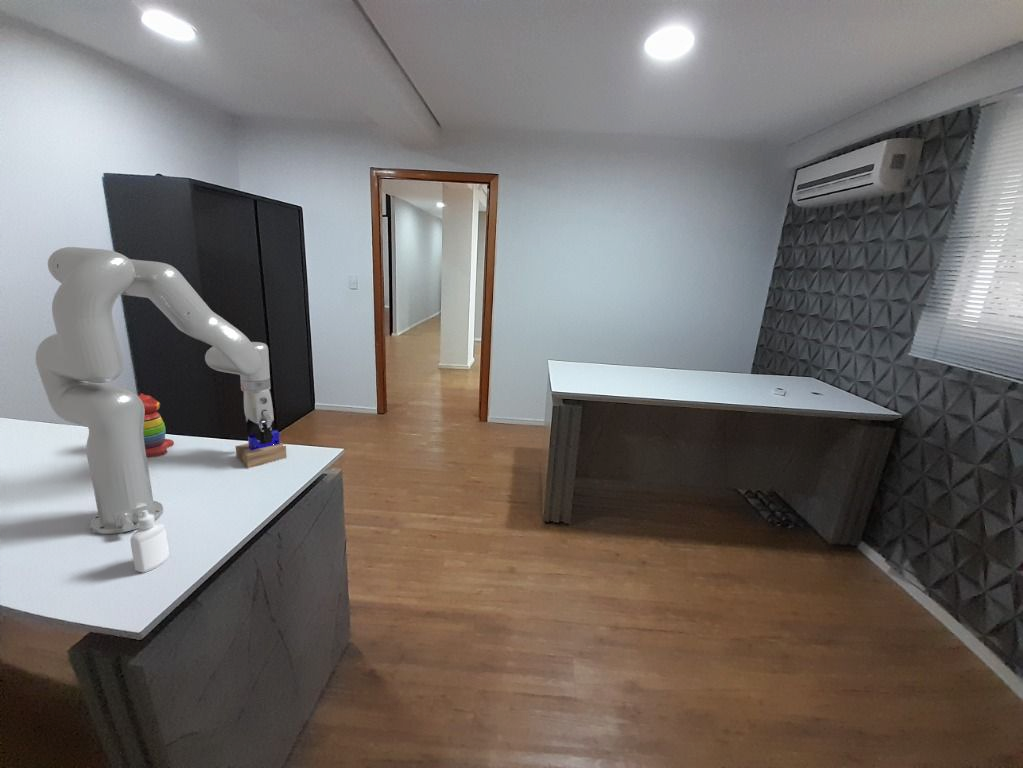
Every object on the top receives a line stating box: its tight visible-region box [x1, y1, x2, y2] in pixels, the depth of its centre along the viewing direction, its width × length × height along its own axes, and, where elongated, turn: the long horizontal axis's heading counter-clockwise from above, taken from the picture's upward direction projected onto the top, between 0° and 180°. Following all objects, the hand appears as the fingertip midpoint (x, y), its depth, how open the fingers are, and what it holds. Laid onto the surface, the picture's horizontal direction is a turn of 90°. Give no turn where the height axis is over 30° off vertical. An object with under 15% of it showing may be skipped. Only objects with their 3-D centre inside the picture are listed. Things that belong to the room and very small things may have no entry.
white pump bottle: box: [130, 510, 171, 574], centre depth 85 cm, size 4×6×12 cm
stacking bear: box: [137, 393, 175, 458], centre depth 131 cm, size 11×10×18 cm
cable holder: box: [247, 429, 281, 450], centre depth 133 cm, size 8×4×4 cm, turn 137°
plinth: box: [235, 441, 287, 469], centre depth 133 cm, size 9×11×4 cm
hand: (259, 438), depth 132 cm, fingers open, 9 cm apart
